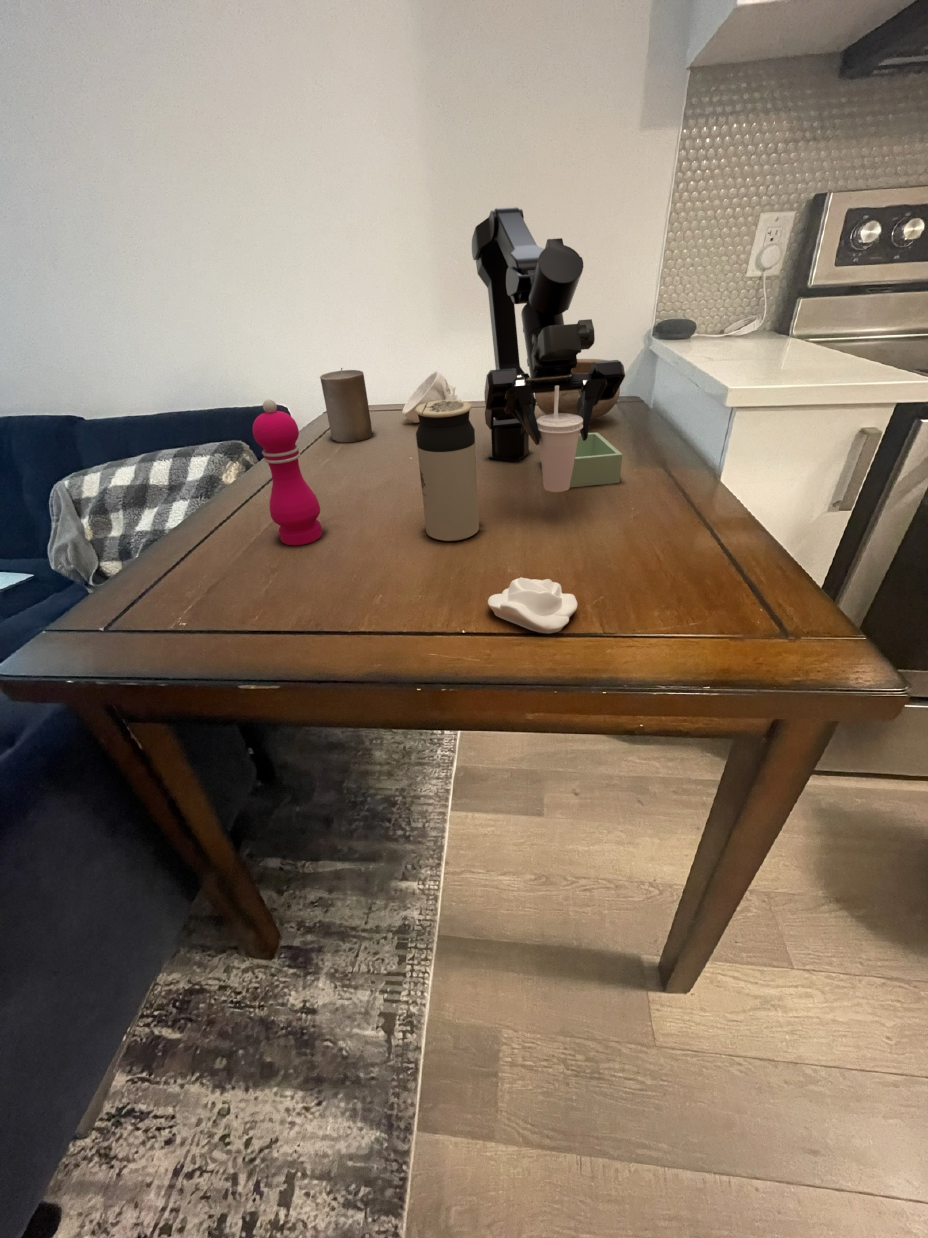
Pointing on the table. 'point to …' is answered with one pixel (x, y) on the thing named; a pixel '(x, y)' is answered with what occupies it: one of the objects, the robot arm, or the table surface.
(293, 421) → the pepper mill
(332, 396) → the pillar candle
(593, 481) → the bin
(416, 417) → the skull bowl
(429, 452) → the travel mug
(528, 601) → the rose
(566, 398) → the cooking pot
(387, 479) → the table surface
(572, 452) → the smoothie
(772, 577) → the table surface
